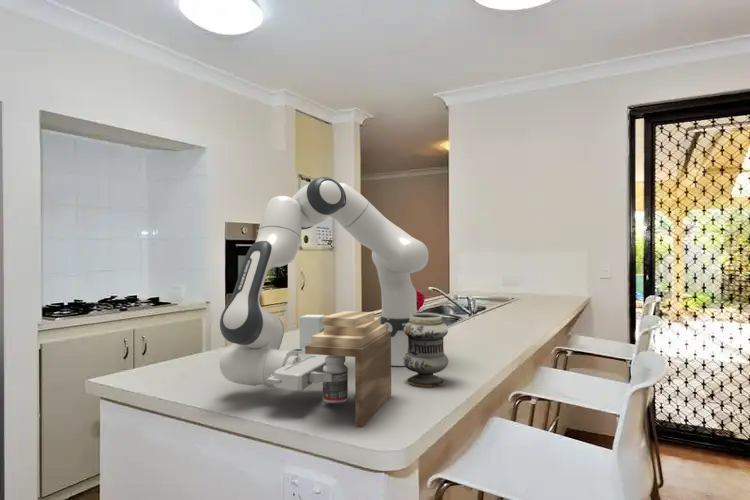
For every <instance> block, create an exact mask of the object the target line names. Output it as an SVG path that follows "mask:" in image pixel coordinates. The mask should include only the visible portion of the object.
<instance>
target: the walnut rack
mask: <svg viewBox="0 0 750 500" xmlns="http://www.w3.org/2000/svg"><path fill="white" fill-rule="evenodd" d="M305 354H316V355H331V356H345V357H351V358H354V359H355V360H354V362H355V363H354V365H355V368H354V369H355V370H354V371H355V372H354V373H355V374H354V376H355V378H354V379H355V381H354V382H355V383H354V385H355V386H354V387H355V394H354V395H355V428H364V426H366V424H367V423H368V422H369V421H370V420H371V418H372V417H373V416H374V415H375V414H376V413H377V412H378V411H379V409H380V408H382V406H383V405H385V403H386V402H387V401H388V399H390V397H391V396H392V365H391V331H386V333H384V334H383V335H381V336H379V337H378V338H376V339H374V340H373V341H371V342H370V343H368V344H366V345H365V346H363V347H361V348H356V347H339V346H322V345H311V344H309V345H307V346H305Z"/></svg>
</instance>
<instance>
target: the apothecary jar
mask: <svg viewBox="0 0 750 500" xmlns="http://www.w3.org/2000/svg"><path fill="white" fill-rule="evenodd" d="M448 332H449V328H448V326H447V324H446V323H444V321H443V316H442V314H438V313H434V312H417V313H415V314H411V315H410V320H409V322H408V323H407V324H406V325H405V326H404V333H405V334H406V335H407V336H408V353H406V355H405V356H404V358H403V363H404V365H405V366H404V367H406V369H407V370H409V371H411V372H414V373H417V374H415V375H413V376H410V377H409V378H407V380H406V383H408V384H409V385H412V386H415V387H421V388H431V387H436V386H437V387H440V386H442V385H444V384H445V380H444V379H443V378H441V377H439V376H438V375H435V374H436V373H439V372H442V371H444V370H445V369H447V367H448V366H449V358H448V356H447V355H446V354H445V350H444V337H446V336H447V335H448Z"/></svg>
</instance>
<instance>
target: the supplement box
mask: <svg viewBox="0 0 750 500" xmlns="http://www.w3.org/2000/svg"><path fill="white" fill-rule="evenodd" d="M324 316H326V314H305V315H302V316H300V317H299V349H305V346H307V345H309V344H311V336H313V335H316V334H318V333H320V332H323V331H324V326H323V325H322V317H324Z"/></svg>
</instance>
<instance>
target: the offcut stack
mask: <svg viewBox="0 0 750 500" xmlns="http://www.w3.org/2000/svg"><path fill="white" fill-rule="evenodd" d="M380 320H381V316H379V317H378V316H377V317H376V316H375V312H373V311H372V312H371V311H356V310H351V311H350V310H343V311H340V312H335V313H332V314H328V315H325V316H324V317H322V325H323V326H324V331H323V332H320V333H318V334H316V335H313V336H311V345H322V346H339V347H356V348H361V347H363V346H365V345H366V344H368V343H370V342H371V341H373V340H374V339H376V338H378V337H379V336H381V335H383V334H384V333H386V325H383V324H380Z"/></svg>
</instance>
